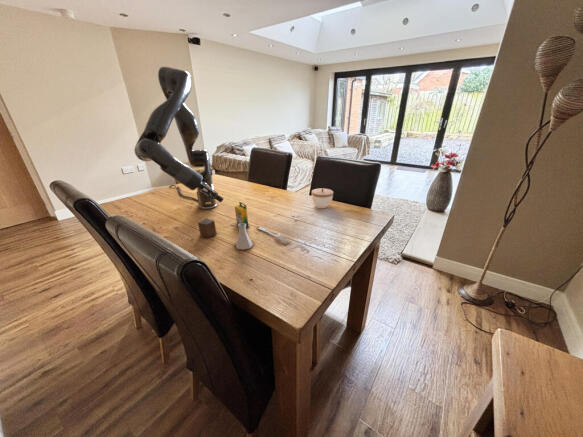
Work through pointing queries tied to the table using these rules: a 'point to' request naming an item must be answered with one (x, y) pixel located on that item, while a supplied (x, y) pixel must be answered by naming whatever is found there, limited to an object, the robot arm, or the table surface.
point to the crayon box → (241, 214)
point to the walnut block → (207, 228)
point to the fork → (274, 234)
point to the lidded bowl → (322, 197)
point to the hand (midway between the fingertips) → (219, 197)
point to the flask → (243, 238)
